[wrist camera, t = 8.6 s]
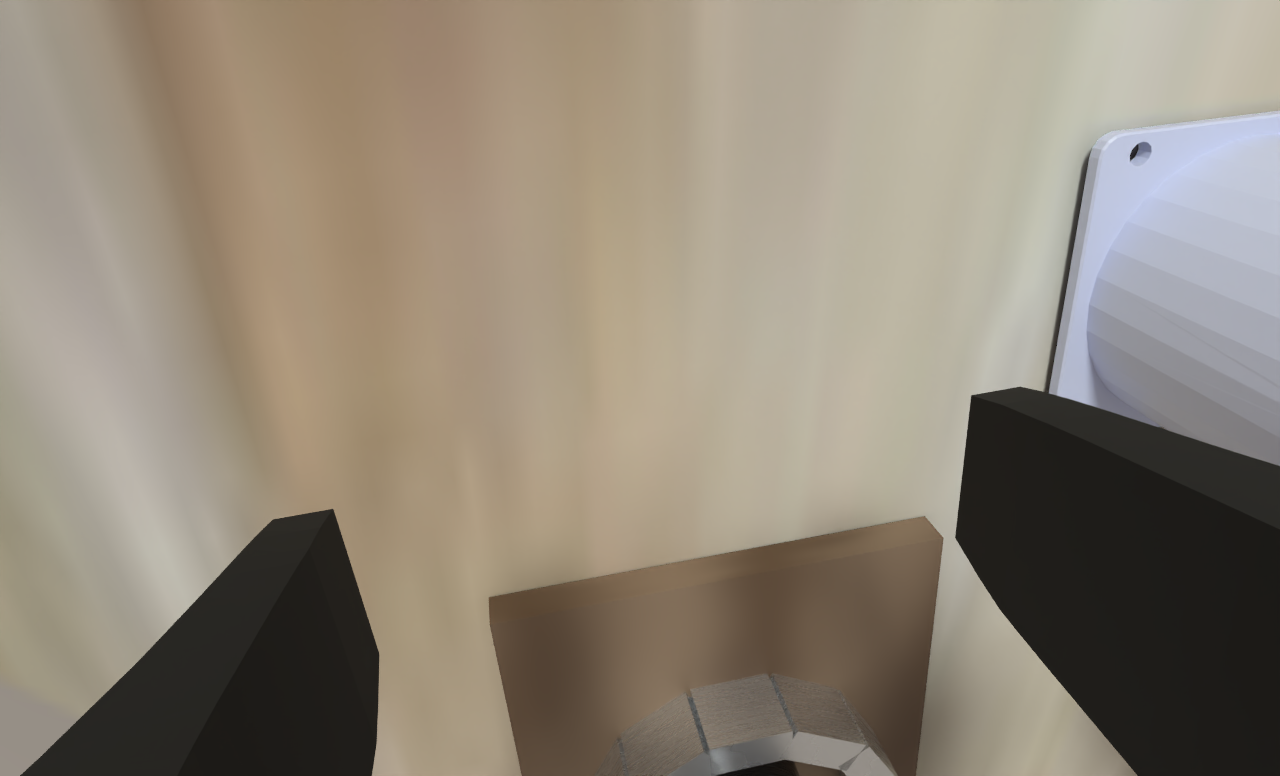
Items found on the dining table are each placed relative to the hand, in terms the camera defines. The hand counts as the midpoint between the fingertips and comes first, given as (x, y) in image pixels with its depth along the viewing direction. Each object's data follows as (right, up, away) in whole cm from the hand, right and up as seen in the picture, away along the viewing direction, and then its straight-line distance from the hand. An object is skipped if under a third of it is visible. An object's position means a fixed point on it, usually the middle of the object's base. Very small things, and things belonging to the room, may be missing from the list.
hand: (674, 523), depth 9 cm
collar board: (+2, -10, +16) cm, 19 cm away
